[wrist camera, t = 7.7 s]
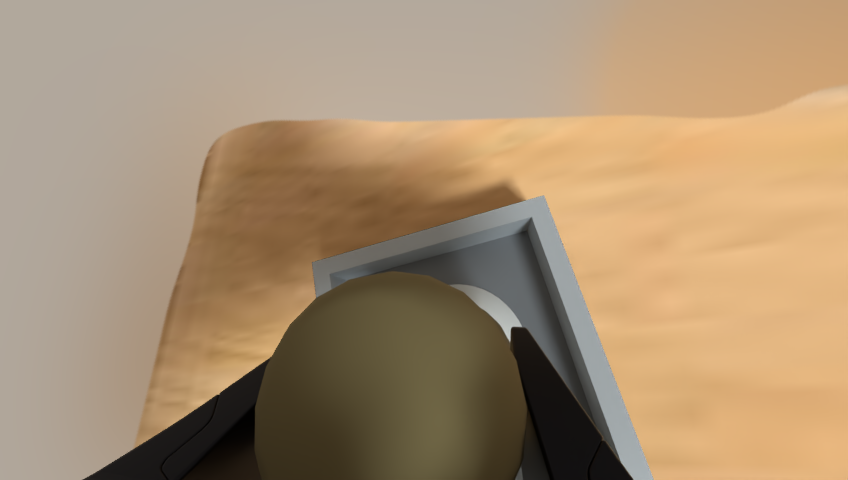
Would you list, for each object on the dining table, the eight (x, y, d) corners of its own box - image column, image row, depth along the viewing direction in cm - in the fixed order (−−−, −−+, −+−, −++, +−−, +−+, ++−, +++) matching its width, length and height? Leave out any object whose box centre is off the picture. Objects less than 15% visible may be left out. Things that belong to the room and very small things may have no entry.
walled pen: (629, 465, 16) (659, 493, 13) (369, 511, 18) (345, 545, 15) (536, 214, 20) (543, 195, 18) (335, 271, 22) (311, 262, 19)
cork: (537, 412, 14) (667, 632, 4) (408, 452, 14) (200, 739, 4) (486, 282, 16) (477, 183, 6) (375, 321, 16) (180, 296, 6)
